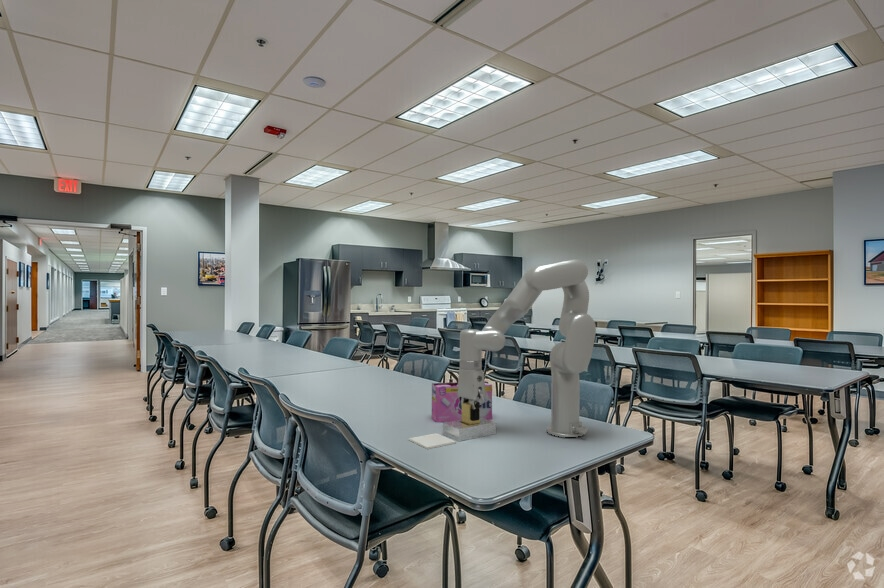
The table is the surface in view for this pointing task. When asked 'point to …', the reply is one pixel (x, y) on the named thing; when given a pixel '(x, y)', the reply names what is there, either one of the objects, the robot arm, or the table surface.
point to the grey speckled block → (469, 429)
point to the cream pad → (432, 441)
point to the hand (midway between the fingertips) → (470, 418)
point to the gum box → (455, 402)
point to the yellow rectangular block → (468, 414)
